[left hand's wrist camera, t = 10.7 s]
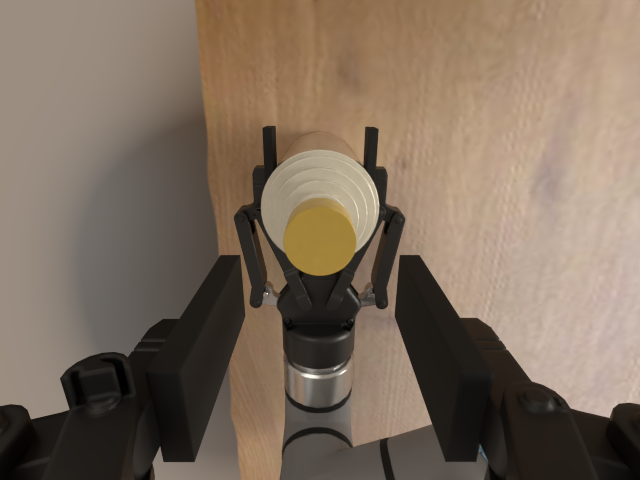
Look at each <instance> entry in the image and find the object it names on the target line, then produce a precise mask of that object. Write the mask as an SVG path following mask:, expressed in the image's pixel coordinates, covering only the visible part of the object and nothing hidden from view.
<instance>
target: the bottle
mask: <svg viewBox="0 0 640 480" xmlns="http://www.w3.org/2000/svg"><path fill="white" fill-rule="evenodd" d="M312 198H328V199H331V200H334V201H336V202H338V203H339V204H341V205H342V206H343V207H344V208H345V209H346V210H347V211H348V213H349V214H350V216H351V219H352V222H353V225H354V229H355V233H356V238H357V245H356V250H355V252H357V251H358V250H359V249H360V248H361V247H363V246H364V245H365V243H366V242H367V241H368V240H369V238H370V236H371V235H372V233H373V231H374V229H375V227H376V224H377V220H378V215H379V199H378V194H377V190H376V187H375V185H374V182H373V181H372V179H371V177H370V176H369V174H368V173H367V171H366V170H365V168H364V167H363V165H362V164H361V162H360V161H359V159H358V158H357V156H356V155H355V153H354V152H353V150H352V149H351V147H350V146H349V145H348V144H347V143H346V142H345V141H344V140H343V139H342V138H340V137H338V136H336V135H334V134H331V133H327V132H313V133H309V134H306V135H304V136H302V137H300V138H298V139H297V140H296V141H295V142H294V143H293V144H292V145H291V146H290V147H289V149H288V150H287V152H286V153H285V155H284V156H283V158H282V159H281V161H280V162H279V164H278V165H277V167H276V168H275V170H274V171H273V173H272V174H271V176H270V177H269V179H268V181H267V183H266V185H265V187H264V190H263V193H262V199H261V215H262V220H263V224H264V226H265V229H266V231H267V233H268V235H269V237H270V238H271V239H272V241H273V242H274V243H275V244H276V245H277V247H278V248H280V249H281V250H282V251H283V252H284V253H285V250H284V245H283V238H284V233H285V229H286V225H287V222H288V219H289V216H290V214H291V213H292V211H293V210H294V209H295V208H296V207H297V206H298V205H299V204H301V203H302V202H304V201H306V200H309V199H312Z"/></svg>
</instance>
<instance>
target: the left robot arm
mask: <svg viewBox="0 0 640 480" xmlns="http://www.w3.org/2000/svg"><path fill="white" fill-rule="evenodd" d="M244 318H245V307H244V295H243V283H242V271H241V259H240V255H220V257H219V259H218V260H217V262H216V263H215V265H214V266H213V268H212V269H211V271H210V272H209V274H208V276H207V277H206V279H205V280H204V282H203V283H202V285H201V286H200V288H199V290H198V291H197V293H196V294H195V296H194V297H193V299H192V300H191V302H190V304H189V305H188V307H187V308H186V310H185V311H184V313H183V314H182V316H181V317H180V319H163V320H161V321H160V322H158V323H157V324H155V325H154V326H152V327H151V328H150V329H149V330H148V331H147V332H146V334H145V335H144V336H143V338H142V339H141V342H139V343H138V345H137V346H136V347H135V348H134V351H132V352H131V354H130V355H129V357H126V356H125V355H124V354H121V353H116V352H109V353H100V354H97V355H93V356H89V357H87V358H85V359H83V360H81V361H79V362H77V363H75V364H74V365H73V366H72V367H70V368H69V369H67V370H66V371H65V373H64V374H63V375H62V377H61V378H60V380H61V383H62V386H63V389H64V393H65V396H66V399H67V402H68V405H69V410H68V411H65V412H61V413H57V414H53V415H48V416H44V417H40V418H36V419H31V418H30V416H29V413H28V410H27V409H25V408H24V407H23V406H21V405H12V404H10V405H5V406H0V480H155V475H154V468H153V464H152V462H153V460H154V458H155V456H156V454H157V451H158V449H159V447H161V452H162V456H163V461H164V462H195V459H196V456H197V453H198V450H199V447H200V445H201V442H202V439H203V436H204V433H205V430H206V427H207V424H208V422H209V419H210V416H211V413H212V410H213V407H214V404H215V401H216V399H217V396H218V393H219V390H220V387H221V384H222V381H223V378H224V376H225V373H226V370H227V367H228V364H229V361H230V358H231V355H232V353H233V350H234V347H235V344H236V341H237V338H238V335H239V332H240V330H241V327H242V324H243V321H244ZM395 318H396V321H397V324H398V327H399V330H400V332H401V335H402V338H403V341H404V344H405V347H406V350H407V353H408V355H409V358H410V361H411V364H412V367H413V370H414V373H415V376H416V378H417V381H418V384H419V387H420V390H421V393H422V396H423V399H424V401H425V404H426V407H427V410H428V413H429V416H430V419H431V422H432V424H433V427H434V430H435V433H436V436H437V439H438V442H439V445H440V447H441V450H442V453H443V456H444V459H445V462H476V461H477V456H478V452H479V447H480V445H481V447H482V450H483V452H484V454H485V456H486V458H487V460H488V464H487V468H486V473H485V477H484V480H640V405H639V404H633V403H623V404H618V405H617V406H616V407H614V408H613V410H612V413H611V416H610V418H607V417H603V416H598V415H594V414H590V413H585V412H581V411H577V410H574V409H571V408H570V407H569V406H568V404H567V403H566V401H565V400H564V399H563V398H562V397H561V396H560V395H558V394H557V393H556V392H555V391H553V390H551V389H549V388H547V387H546V386H544V385H541V384H538V383H535V382H532V381H531V380H530V379H529V377H528V376H527V375H526V373H525V372H524V371H523V369H522V368H521V367H520V365H519V364H518V363H517V361H516V360H515V359H514V357H513V356H512V355H511V353H510V352H509V351H508V350H506V347H505V346H504V344H503V343H502V342H501V341H499V338H498V336H497V335H496V334H495V332H494V331H493V330H492V328H491V327H489V326H488V325H487V324H485V323H484V322H482V321H481V320H479V319H478V318H460V317H459V316H458V314H457V313H456V311H455V310H454V308H453V307H452V305H451V303H450V302H449V300H448V299H447V297H446V296H445V294H444V293H443V291H442V289H441V288H440V286H439V285H438V283H437V282H436V280H435V279H434V277H433V276H432V274H431V272H430V271H429V269H428V268H427V266H426V265H425V263H424V262H423V260H422V259H421V257H420V255H400V259H399V271H398V283H397V295H396V307H395Z"/></svg>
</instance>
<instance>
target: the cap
mask: <svg viewBox="0 0 640 480" xmlns="http://www.w3.org/2000/svg"><path fill="white" fill-rule="evenodd" d="M283 245H284V250H285V253H286V255H287V257H288V259H289V260H290V262H291V263H292V264H293V265H294V266H295V267H296V268H298V269H299V270H301V271H302V272H305V273H307V274H310V275H316V276H324V275H329V274H333V273H335V272H338V271H339V270H341V269H342V268H344V267H345V266H346V265H347V264H348V263H349V262H350V260H351V259H352V257H353V255H354V253H355V250H356V245H357V238H356V233H355V229H354V225H353V222H352V219H351V216H350V214H349V213H348V211H347V210H346V209H345V208H344V207H343V206H342V205H341V204H339V203H338V202H336V201H334V200H331V199H328V198H312V199H309V200H306V201H304V202H302V203H301V204H299V205H298V206H297V207H296V208H295V209H294V210H293V211H292V213H291V214H290V216H289V219H288V222H287V225H286V229H285V233H284V238H283Z"/></svg>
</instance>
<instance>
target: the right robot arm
mask: <svg viewBox="0 0 640 480" xmlns="http://www.w3.org/2000/svg"><path fill="white" fill-rule="evenodd" d="M377 144H378V129H377V128H375V127H365V145H364V165H363V167H364V168H365V170H366V171H367V173H368V174H369V176H370V177H371V179H372V181H373V182H374V185H375V187H376V190H377V194H378V199H379V215H378V220H377V224H376V227H375V229H374V231H373V233H372V235H371V236H370V238H369V240H368V241H367V242H366V243H365V245H364V246H363V247H361V248H360V249H359V250H358V251H357V252H355V253H354V255H353V257H352V259H351V260H350V262H349V263H348V264H347V265H346V266H345V267H344V268H342V269H341V270H339V271H338V272H335V273H333V274H329V275H324V276H316V275H310V274H307V273H305V272H302V271H301V270H299V269H298V268H296V267H295V266H294V265H293V264H292V263H291V262H290V260H289V259H288V257H287V255H286V253H284V252H283V251H282V250H281V249H280V248H278V247H277V245H276V244H275V243H274V242H273V241H272V239H271V238H270V237H269V235H268V233H267V231H266V229H265V226H264V224H263V220H262V215H261V199H262V193H263V190H264V187H265V185H266V183H267V181H268V179H269V177H270V176H271V174H272V173H273V171H274V170H275V168H276V167H277V156H276V126H266V127H264V128H263V149H264V165H257V166H256V167H255V168H254V171H253V191H254V203H252V204H249V205H244V206H242V207H241V208H240V209H239V210H238V212H237V213H236V214H235V216H234V221H235V225H236V228H237V232H238V236H239V240H240V244H241V248H242V251H243V255H244V259H245V263H246V267H247V271H248V274H249V278H250V282H251V286H252V289H251V296H250V305H251V306H252V307H254V308H259V307H260V306H261V305H262V304H267V305H274V306H277V308H278V310H279V311H280V313H281V315H282V325H283V349H284V356H283V359H284V381H285V428H284V437H283V446H282V467H281V474H280V480H484V477H485V473H486V468H487V464H488V460H487V458H486V456H485V454H484V452H483V450H482V447H481V445H480V447H479V452H478V456H477V461H476V462H445V459H444V456H443V453H442V450H441V447H440V445H439V442H438V439H437V436H436V433H435V430H434V427H433V424H432V425H429V426H426V427H422V428H419V429H416V430H413V431H409V432H406V433H403V434H400V435H396V436H393V437H390V438H389V437H388V438H385V439H381V440H377V441H373V442H370V443H366V444H363V445H359V446H356V447H353V442H352V432H351V388H352V376H353V350H354V334H355V318H356V315H357V313H358V312H359V310H360V308H361V307H364V306H370V305H376V306H377V308H379V309H385V308H386V307H387V306H388V297H387V289H386V288H387V284H388V281H389V277H390V274H391V270H392V266H393V263H394V259H395V256H396V252H397V248H398V245H399V241H400V238H401V234H402V231H403V227H404V223H405V217H404V215H403V214H402V213H401V211H400V210H399V209H398V208H397V207H392V206H390V205H387V204H386V191H387V178H388V175H387V171H386V169H385V168H384V167H376V160H377ZM255 219H257V221H258V223H259V225H260V227H261V229H262V230H263V232H264V234H265V236H266V238H267V240H268V242H269V244H270V246H271V248H272V250H273V252H274V254H275V256H276V258H277V260H278V262H279V264H280V266H281V268H282V270H283V272H284V276H285V279H286V281H287V284H286V285H285V287H284V288H283V289H282V291H281V292H280V293H277V292H275V291H274V288H273V285H272V283H271V282H269V281H267V271H266V267H265V262H264V258H263V254H262V250H261V246H260V242H259V238H258V233H257V229H256V225H255V221H254V220H255ZM382 220H384V221H385V223H384V227H383V231H382V235H381V239H380V242H379V246H378V250H377V254H376V258H375V262H374V266H373V269H372V274H371V282H369V283H367V285H366V286H365V289H364V292H363V293H361V294H358V292H357V291H356V290H355V289H354V287H353V286H352V285H351V282H352V280H353V277H354V274H355V271H356V269H357V267H358V265H359V263H360V262H361V260H362V258H363V256H364V254H365V252H366V250H367V248H368V247H369V245H370V243H371V241H372V239H373V237H374V235H375V234H376V232H377V230H378V228H379V226H380V224H381V222H382Z"/></svg>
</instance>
